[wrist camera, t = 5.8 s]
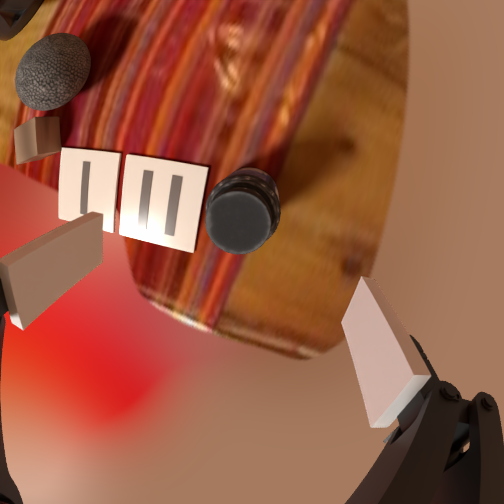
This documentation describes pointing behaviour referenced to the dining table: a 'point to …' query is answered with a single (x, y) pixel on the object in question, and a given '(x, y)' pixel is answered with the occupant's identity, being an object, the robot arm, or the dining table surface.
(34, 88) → the decorative ball
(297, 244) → the dining table surface
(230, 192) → the pill bottle
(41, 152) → the walnut block
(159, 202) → the coaster
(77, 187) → the coaster
